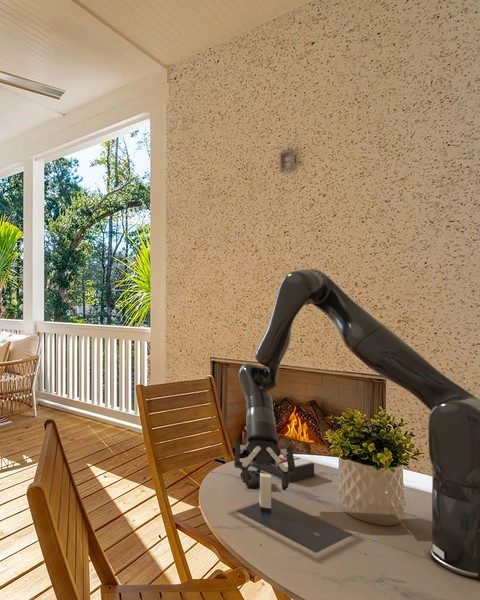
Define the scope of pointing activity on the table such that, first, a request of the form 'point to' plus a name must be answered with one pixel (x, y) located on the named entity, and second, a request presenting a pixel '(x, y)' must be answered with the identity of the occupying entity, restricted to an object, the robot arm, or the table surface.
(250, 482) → the game controller
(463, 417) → the robot arm
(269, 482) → the tall cream square pillar
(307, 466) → the calculator
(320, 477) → the table surface
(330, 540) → the tablet
